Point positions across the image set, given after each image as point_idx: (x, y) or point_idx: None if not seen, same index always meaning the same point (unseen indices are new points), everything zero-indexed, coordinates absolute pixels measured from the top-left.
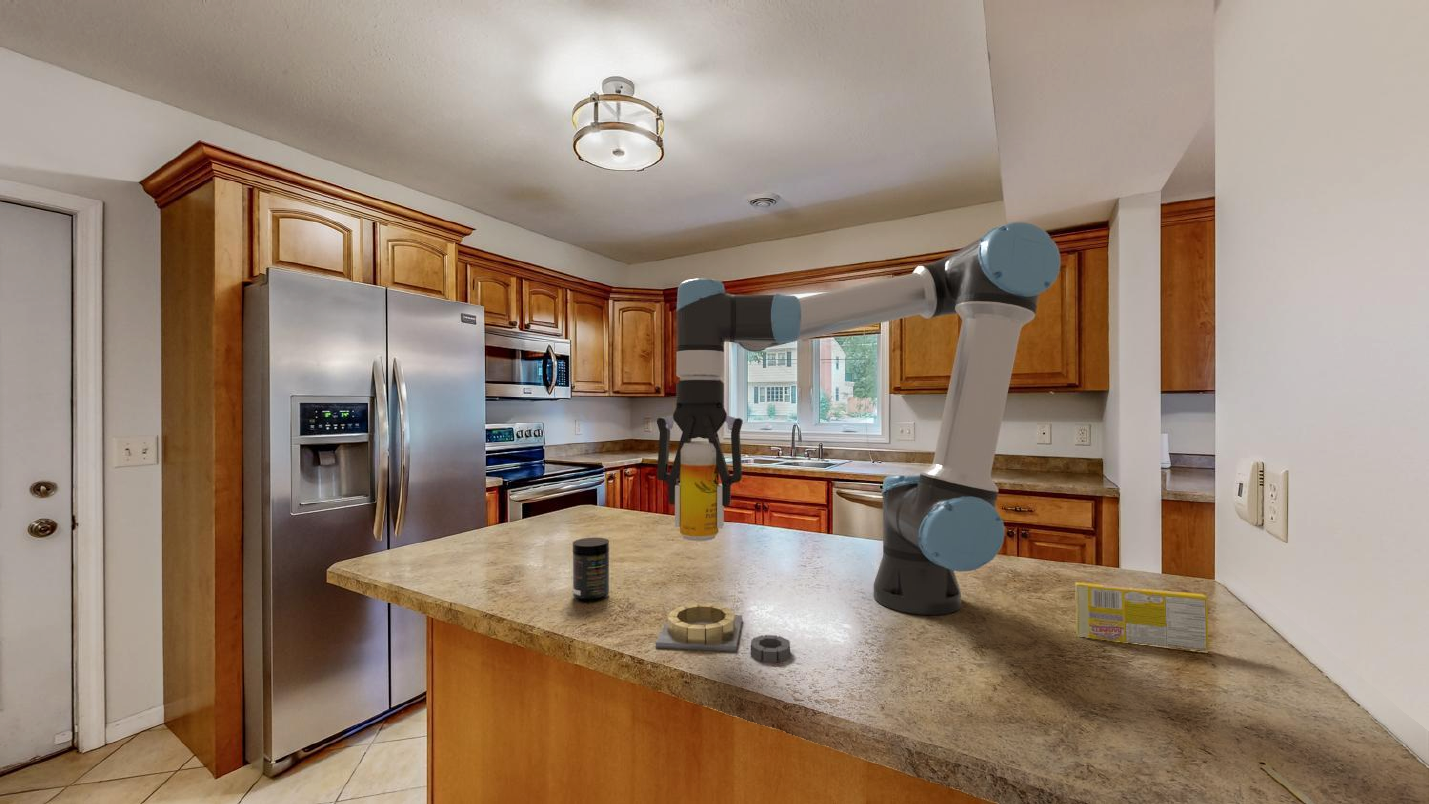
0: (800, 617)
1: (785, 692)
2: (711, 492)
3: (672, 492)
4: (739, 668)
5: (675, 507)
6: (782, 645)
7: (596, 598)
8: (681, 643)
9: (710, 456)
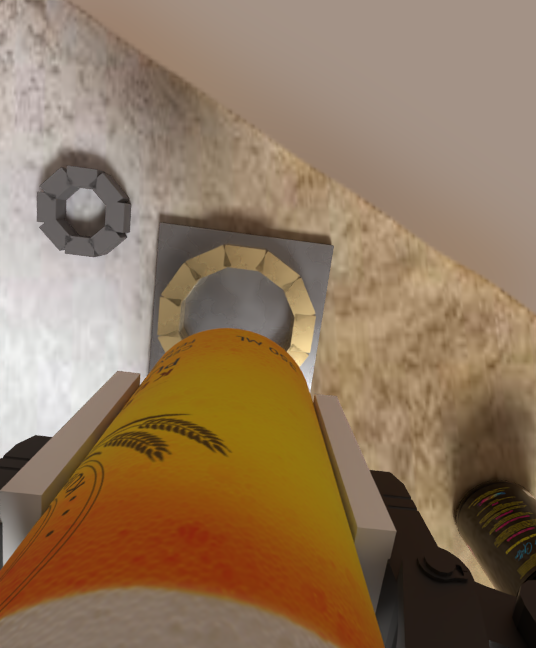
0: (20, 399)
1: (61, 34)
2: (104, 441)
3: (396, 518)
4: (154, 144)
5: (353, 439)
6: (53, 199)
7: (482, 486)
8: (278, 238)
9: None
